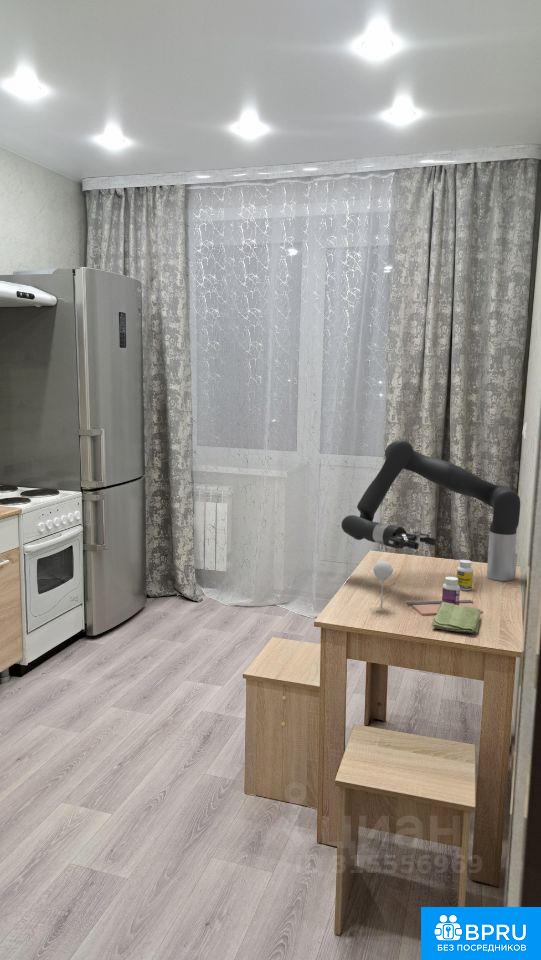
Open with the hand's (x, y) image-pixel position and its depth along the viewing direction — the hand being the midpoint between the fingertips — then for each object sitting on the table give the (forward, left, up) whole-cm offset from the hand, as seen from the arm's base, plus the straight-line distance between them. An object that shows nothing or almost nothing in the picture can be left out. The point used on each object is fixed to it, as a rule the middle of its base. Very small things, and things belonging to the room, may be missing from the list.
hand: (426, 544), depth 222 cm
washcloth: (-2, +22, -19) cm, 29 cm away
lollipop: (+16, +5, -19) cm, 25 cm away
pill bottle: (-5, +9, -19) cm, 21 cm away
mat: (-4, +8, -19) cm, 21 cm away
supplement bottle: (-19, -11, -19) cm, 29 cm away
